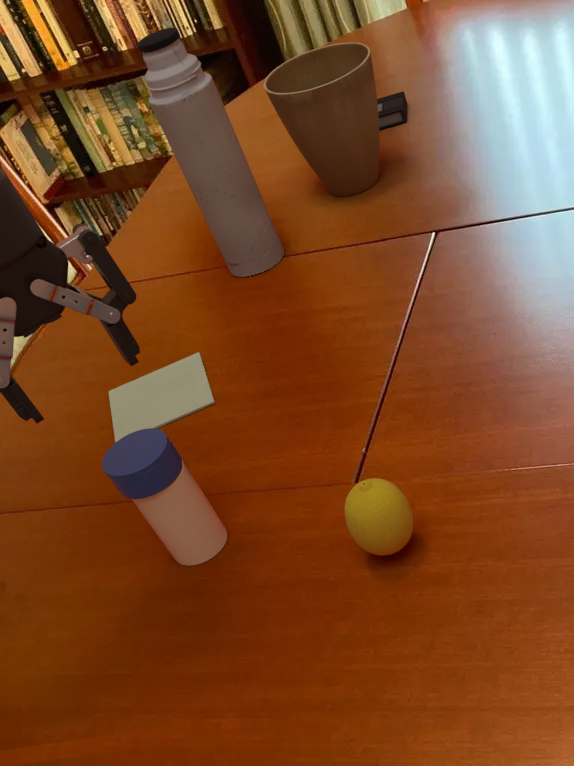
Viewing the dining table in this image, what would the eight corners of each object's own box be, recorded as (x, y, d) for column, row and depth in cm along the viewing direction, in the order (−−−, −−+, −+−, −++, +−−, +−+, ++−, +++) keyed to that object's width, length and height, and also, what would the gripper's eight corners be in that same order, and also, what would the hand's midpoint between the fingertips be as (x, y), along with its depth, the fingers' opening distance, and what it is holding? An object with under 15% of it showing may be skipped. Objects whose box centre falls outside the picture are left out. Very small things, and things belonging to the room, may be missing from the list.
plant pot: (291, 215, 127) (244, 99, 115) (331, 164, 135) (291, 50, 123) (383, 206, 121) (343, 83, 109) (418, 153, 129) (385, 33, 118)
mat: (116, 446, 99) (115, 444, 99) (109, 393, 107) (108, 391, 107) (215, 403, 100) (214, 401, 99) (200, 353, 108) (199, 351, 108)
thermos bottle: (220, 268, 122) (112, 47, 101) (266, 239, 124) (170, 17, 103) (247, 283, 117) (140, 53, 96) (295, 253, 119) (200, 22, 98)
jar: (169, 571, 83) (103, 482, 74) (176, 530, 86) (115, 441, 78) (225, 557, 82) (165, 466, 74) (230, 517, 86) (173, 425, 77)
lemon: (354, 547, 78) (322, 482, 73) (407, 517, 79) (380, 450, 73) (378, 584, 75) (346, 518, 69) (434, 552, 75) (408, 484, 70)
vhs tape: (407, 122, 138) (403, 109, 137) (321, 147, 141) (316, 134, 139) (407, 104, 143) (403, 91, 142) (324, 128, 146) (319, 115, 144)
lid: (178, 442, 80) (163, 418, 78) (187, 480, 76) (172, 455, 74) (116, 470, 79) (99, 446, 77) (122, 509, 75) (104, 485, 73)
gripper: (30, 132, 62) (146, 329, 74) (-160, 229, 59) (-7, 419, 71) (60, 152, 57) (179, 359, 69) (-144, 259, 54) (17, 457, 66)
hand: (85, 389), depth 70 cm, fingers open, 8 cm apart
